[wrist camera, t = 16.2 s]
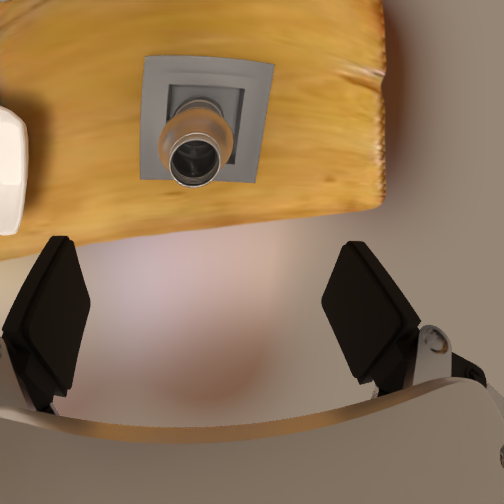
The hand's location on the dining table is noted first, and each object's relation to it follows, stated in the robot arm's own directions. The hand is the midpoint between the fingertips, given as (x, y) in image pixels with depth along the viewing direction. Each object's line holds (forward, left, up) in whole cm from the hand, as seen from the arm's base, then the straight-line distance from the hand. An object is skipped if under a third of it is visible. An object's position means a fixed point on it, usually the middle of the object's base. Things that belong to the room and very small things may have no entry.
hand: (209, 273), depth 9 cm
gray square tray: (0, 0, -32) cm, 32 cm away
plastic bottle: (0, -1, -31) cm, 31 cm away
